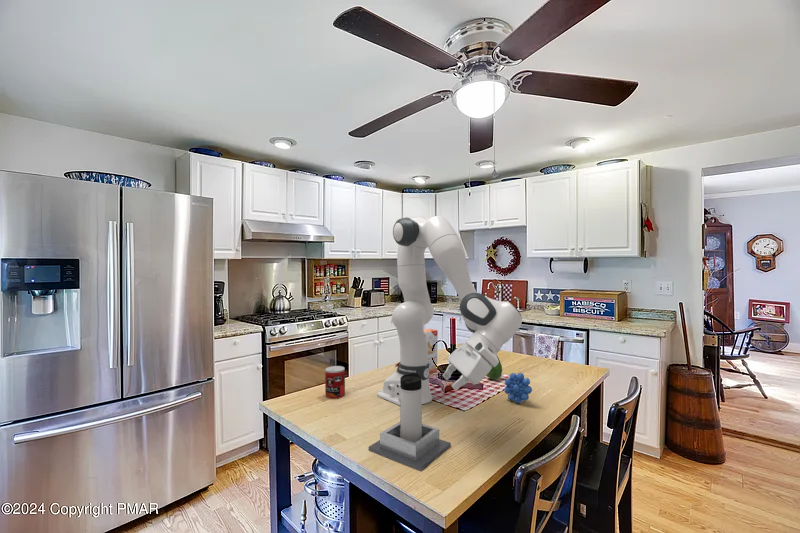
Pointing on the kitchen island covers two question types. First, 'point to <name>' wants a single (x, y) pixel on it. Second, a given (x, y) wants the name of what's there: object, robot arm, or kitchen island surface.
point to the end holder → (410, 447)
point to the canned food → (334, 382)
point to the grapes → (517, 387)
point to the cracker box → (431, 338)
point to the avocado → (495, 371)
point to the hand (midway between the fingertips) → (448, 383)
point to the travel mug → (411, 407)
